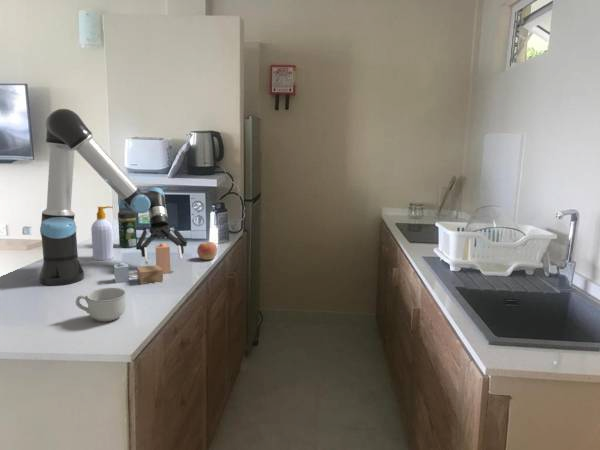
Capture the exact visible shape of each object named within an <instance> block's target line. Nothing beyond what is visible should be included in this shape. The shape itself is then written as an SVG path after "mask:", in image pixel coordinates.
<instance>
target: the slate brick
mask: <svg viewBox="0 0 600 450" xmlns="http://www.w3.org/2000/svg"><path fill="white" fill-rule="evenodd" d="M113 268H114V283H115V284H120V283H121V284H122V283H129V282H130V276H129V273H130V271H129V270H130V269H129V263H125V262H123V261H122V262H118V264H116V263H115V264H114V267H113Z"/></svg>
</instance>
